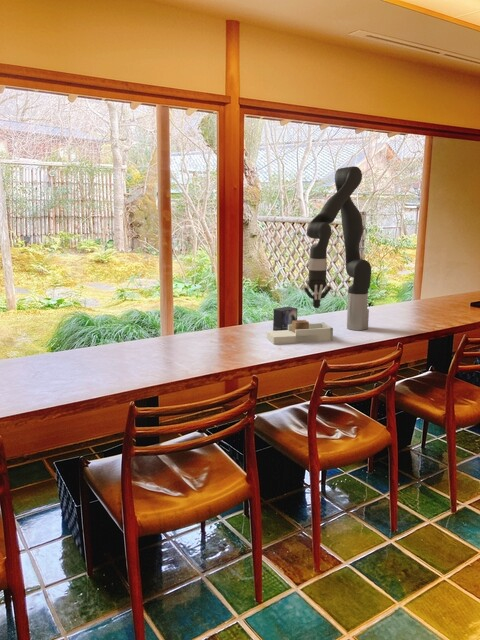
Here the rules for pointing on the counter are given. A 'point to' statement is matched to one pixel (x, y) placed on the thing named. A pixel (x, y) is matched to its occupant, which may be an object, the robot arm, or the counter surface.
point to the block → (299, 325)
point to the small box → (284, 317)
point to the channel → (301, 334)
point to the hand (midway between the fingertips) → (316, 307)
